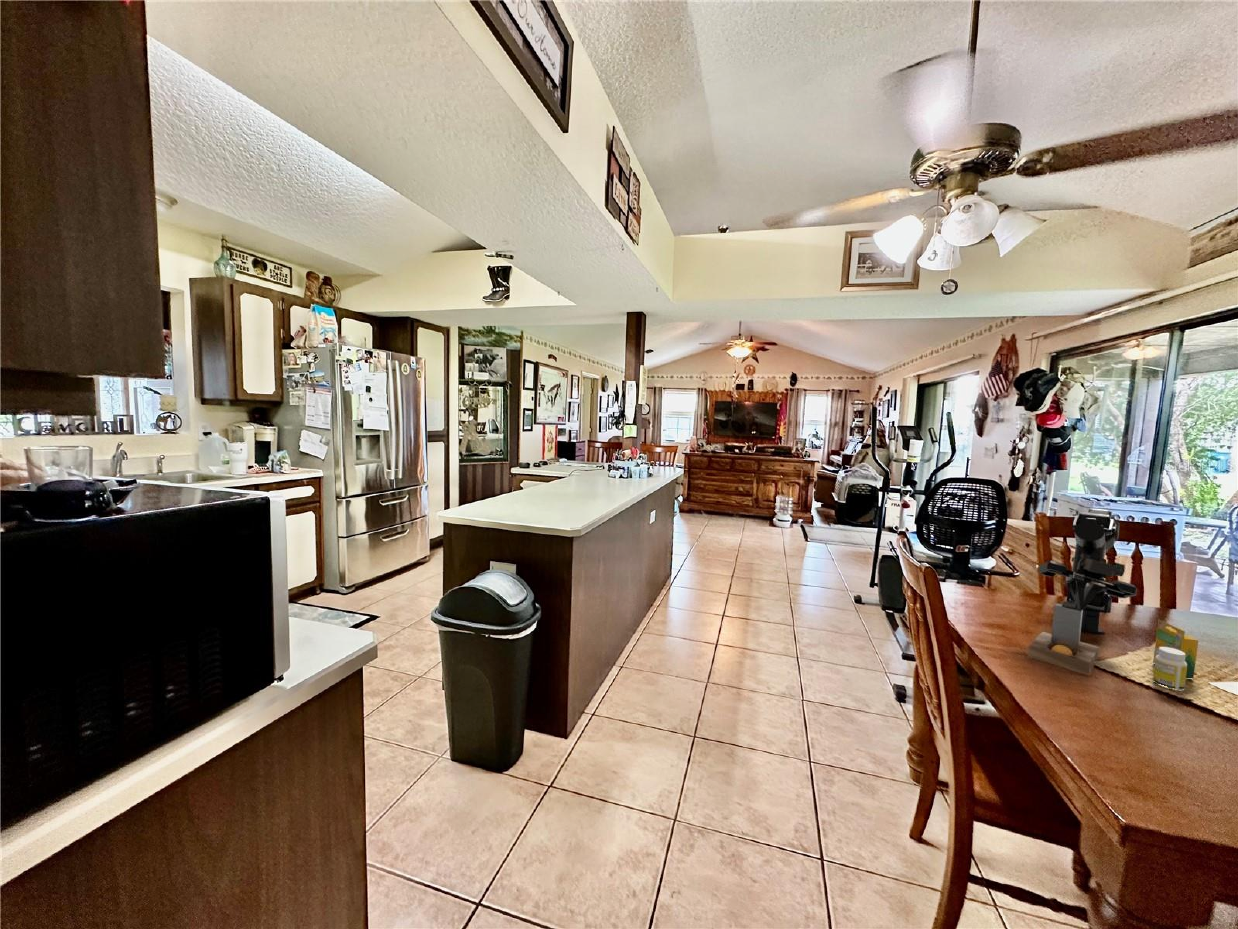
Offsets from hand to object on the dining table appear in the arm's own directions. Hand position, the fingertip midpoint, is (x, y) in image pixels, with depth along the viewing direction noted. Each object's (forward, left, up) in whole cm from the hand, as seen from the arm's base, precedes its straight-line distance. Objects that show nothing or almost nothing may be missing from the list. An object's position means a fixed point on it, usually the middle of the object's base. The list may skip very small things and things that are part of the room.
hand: (1081, 609), depth 126 cm
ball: (+11, -8, -8) cm, 16 cm away
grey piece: (+9, -7, -7) cm, 13 cm away
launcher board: (+9, -7, -10) cm, 15 cm away
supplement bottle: (+17, +9, -11) cm, 22 cm away
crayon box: (+8, +15, -11) cm, 20 cm away
